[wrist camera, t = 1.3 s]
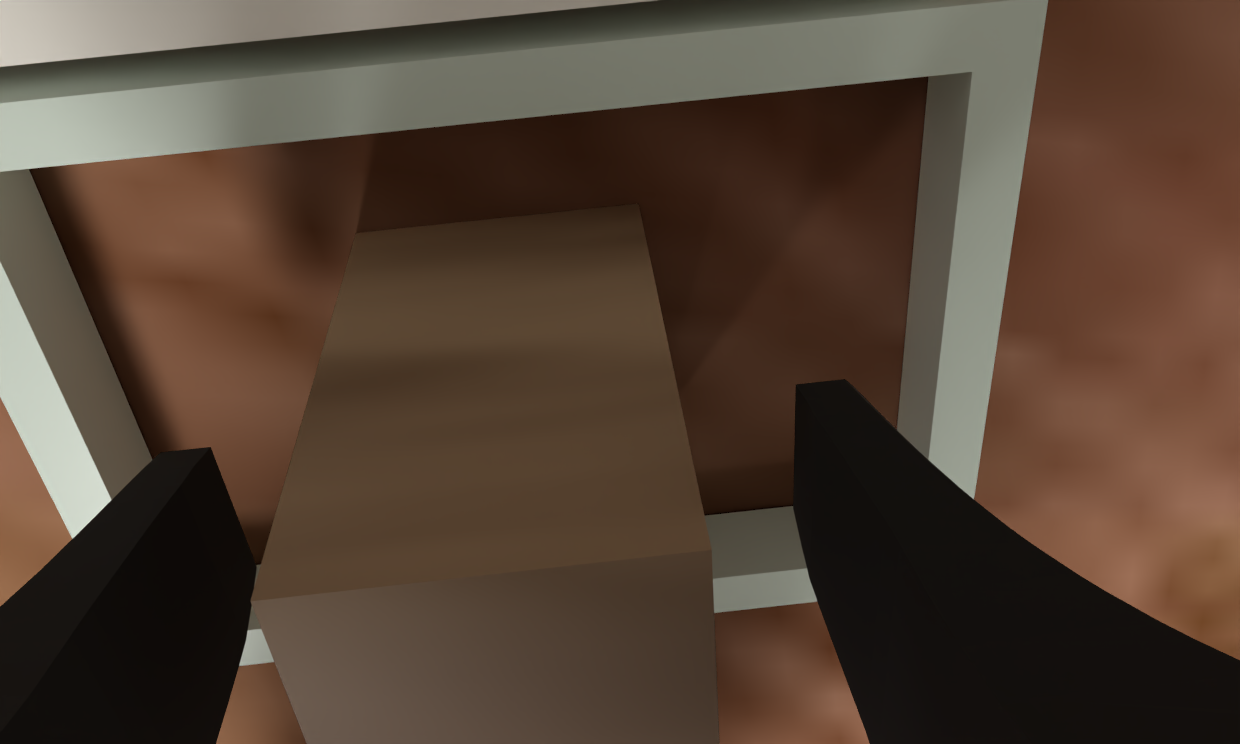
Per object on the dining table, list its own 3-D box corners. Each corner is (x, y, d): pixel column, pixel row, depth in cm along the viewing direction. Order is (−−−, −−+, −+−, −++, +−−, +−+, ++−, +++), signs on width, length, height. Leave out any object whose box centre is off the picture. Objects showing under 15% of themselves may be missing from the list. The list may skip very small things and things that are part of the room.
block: (654, 427, 17) (721, 817, 11) (409, 453, 17) (353, 860, 11) (639, 202, 15) (712, 549, 9) (356, 232, 15) (250, 600, 9)
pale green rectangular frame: (932, 524, 19) (960, 585, 18) (168, 608, 19) (142, 676, 17) (1000, -36, 13) (1048, -4, 12) (-79, 74, 13) (-142, 118, 12)
